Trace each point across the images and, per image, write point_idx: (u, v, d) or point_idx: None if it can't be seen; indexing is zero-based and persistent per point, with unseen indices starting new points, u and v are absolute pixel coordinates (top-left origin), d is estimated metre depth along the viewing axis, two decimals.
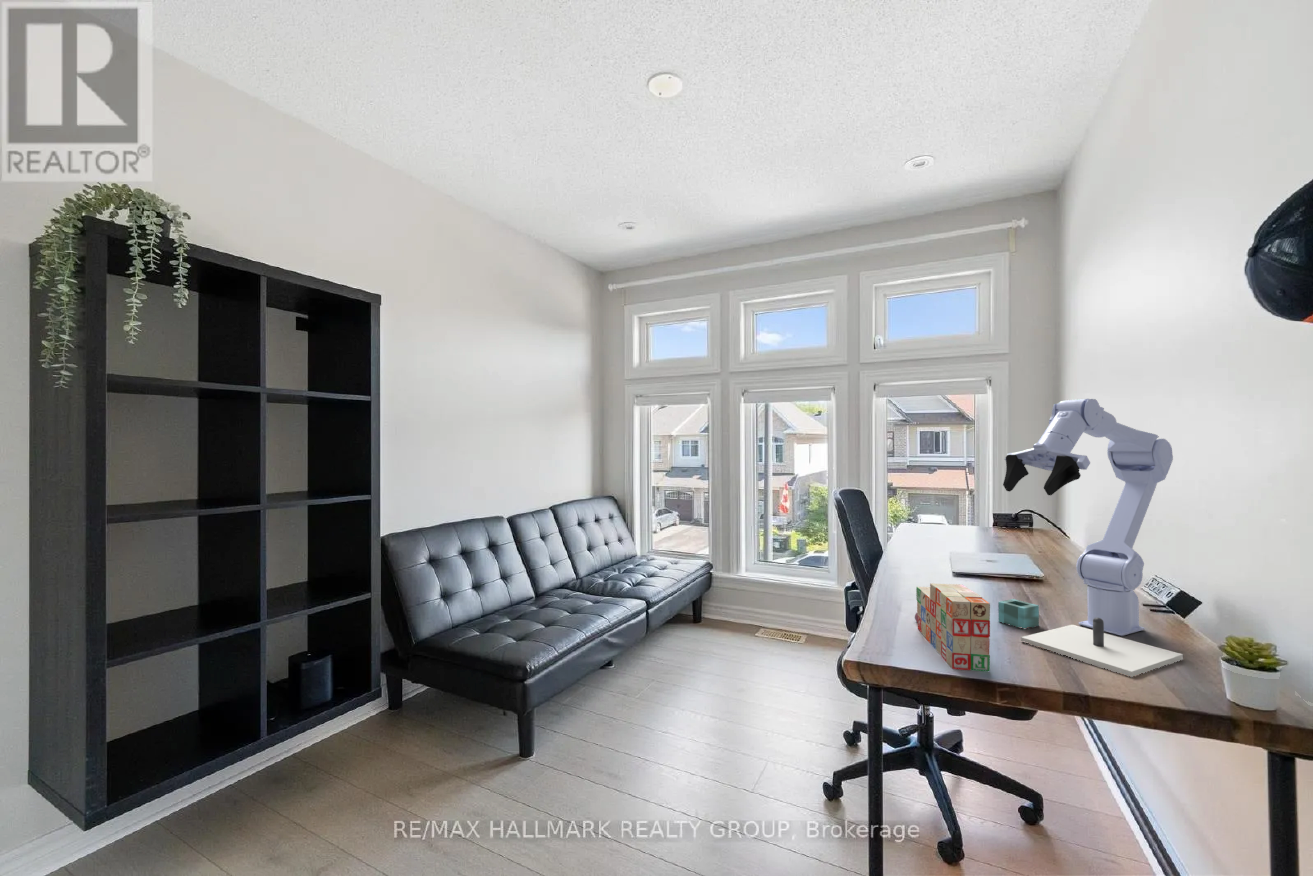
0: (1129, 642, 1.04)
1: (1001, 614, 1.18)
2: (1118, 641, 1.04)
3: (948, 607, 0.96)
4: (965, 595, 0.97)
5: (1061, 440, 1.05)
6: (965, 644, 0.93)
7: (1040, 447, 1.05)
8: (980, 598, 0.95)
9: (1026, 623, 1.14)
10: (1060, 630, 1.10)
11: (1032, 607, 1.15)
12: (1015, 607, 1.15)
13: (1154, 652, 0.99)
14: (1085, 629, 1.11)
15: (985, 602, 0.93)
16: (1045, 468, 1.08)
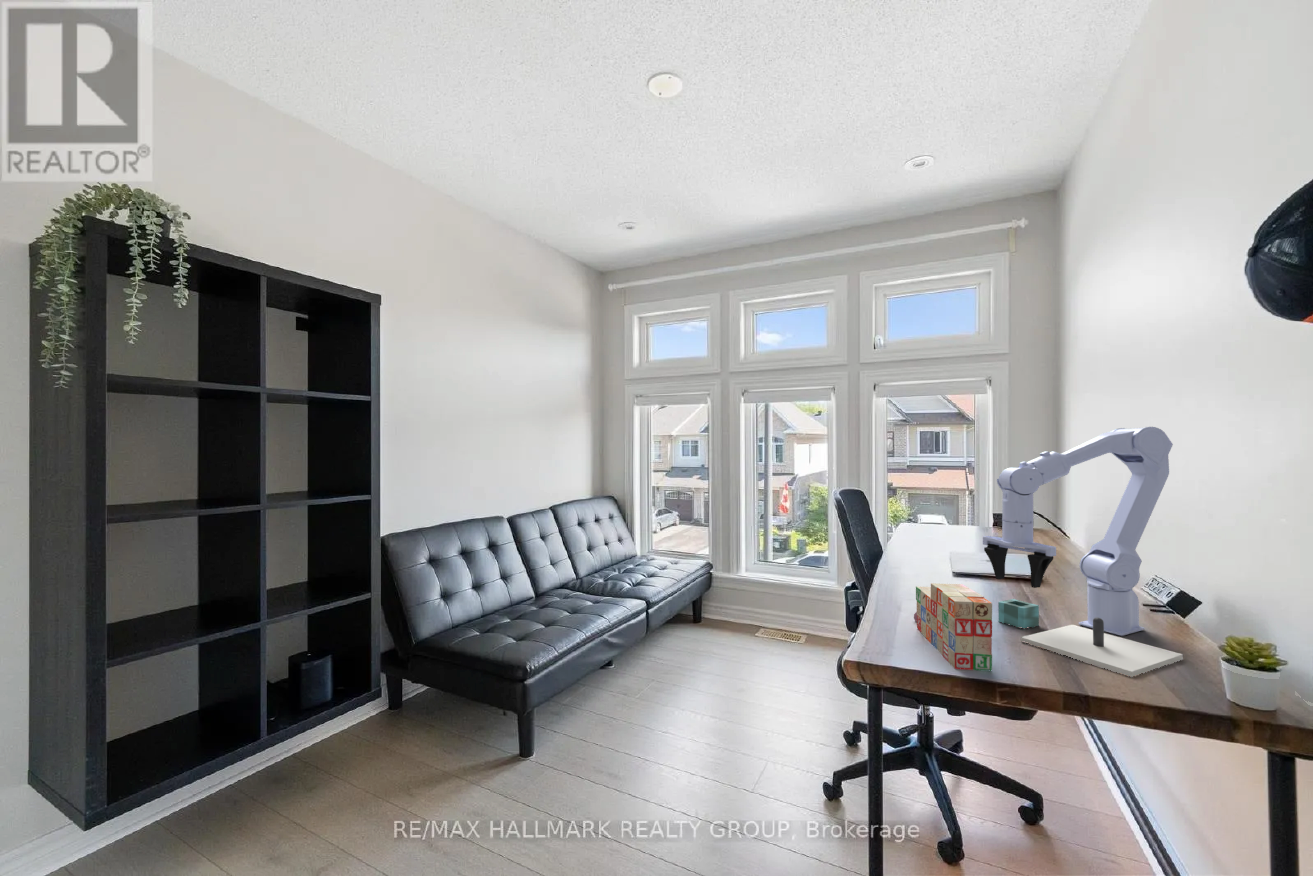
0: (1129, 642, 1.04)
1: (1001, 614, 1.18)
2: (1118, 641, 1.04)
3: (950, 607, 0.96)
4: (967, 595, 0.97)
5: (1022, 529, 1.15)
6: (968, 644, 0.93)
7: (1009, 545, 1.16)
8: (982, 598, 0.96)
9: (1026, 623, 1.14)
10: (1060, 630, 1.10)
11: (1032, 607, 1.15)
12: (1015, 607, 1.15)
13: (1154, 652, 0.99)
14: (1085, 629, 1.11)
15: (987, 602, 0.93)
16: None
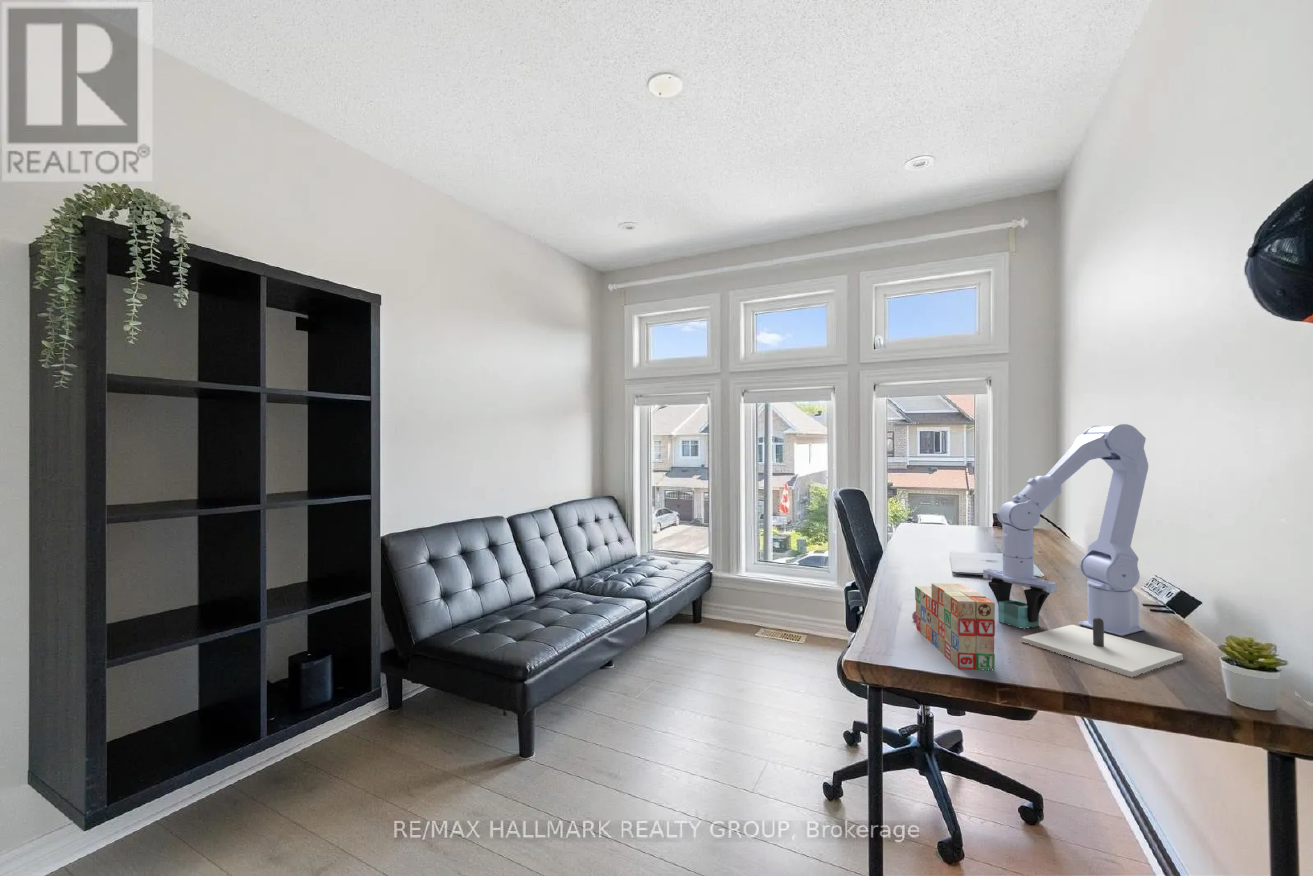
0: (1129, 642, 1.04)
1: (1001, 614, 1.18)
2: (1118, 641, 1.04)
3: (953, 607, 0.96)
4: (969, 595, 0.97)
5: (1022, 565, 1.15)
6: (971, 643, 0.93)
7: (1010, 580, 1.16)
8: (984, 597, 0.96)
9: (1026, 623, 1.14)
10: (1060, 630, 1.10)
11: None
12: (1015, 607, 1.15)
13: (1154, 652, 0.99)
14: (1085, 629, 1.11)
15: (990, 601, 0.94)
16: None
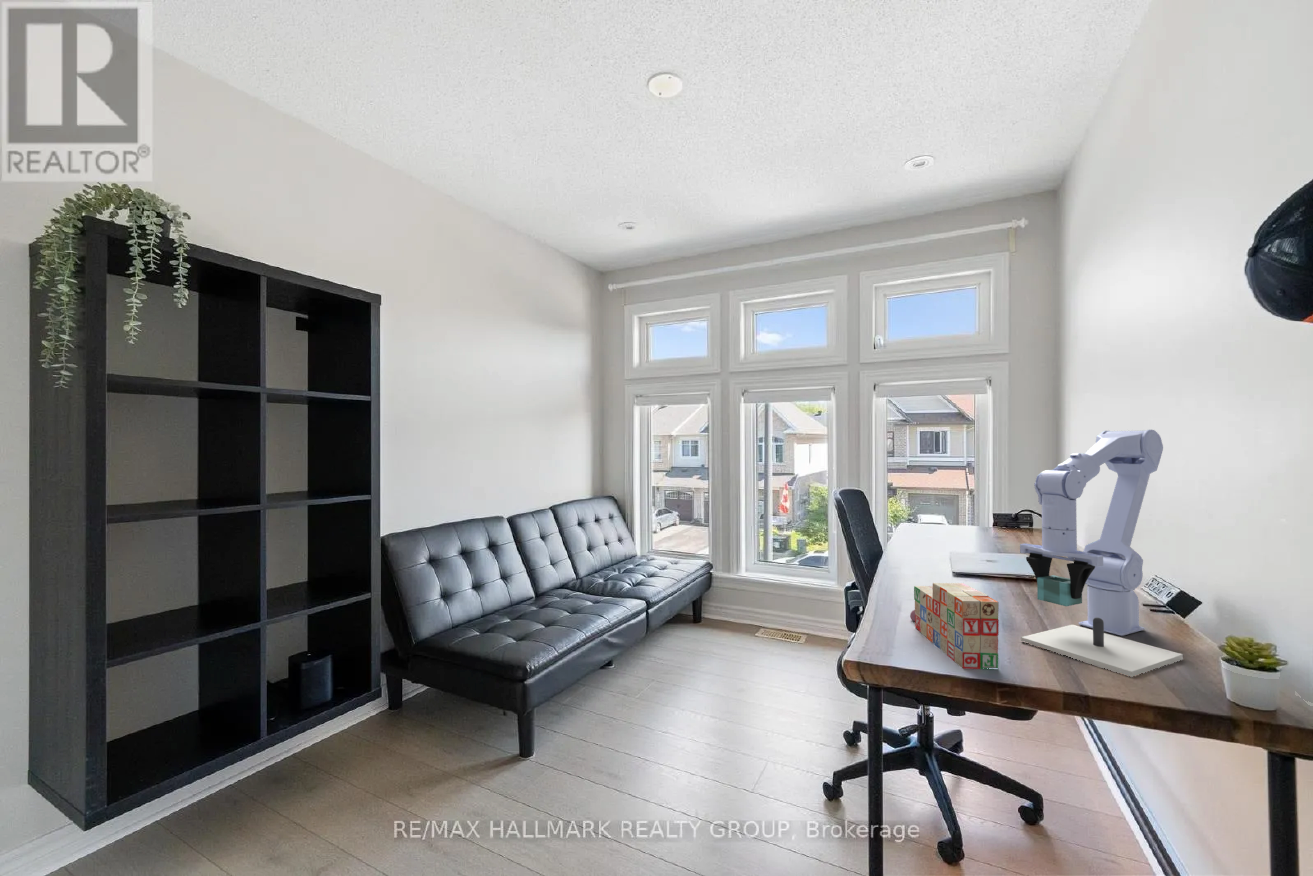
0: (1129, 642, 1.04)
1: (1040, 591, 1.10)
2: (1118, 641, 1.04)
3: (957, 607, 0.96)
4: (972, 594, 0.97)
5: (1064, 537, 1.07)
6: (975, 643, 0.94)
7: (1051, 554, 1.07)
8: (987, 597, 0.96)
9: (1068, 599, 1.06)
10: (1060, 630, 1.10)
11: None
12: (1056, 583, 1.07)
13: (1154, 652, 0.99)
14: (1085, 629, 1.11)
15: (993, 601, 0.94)
16: None
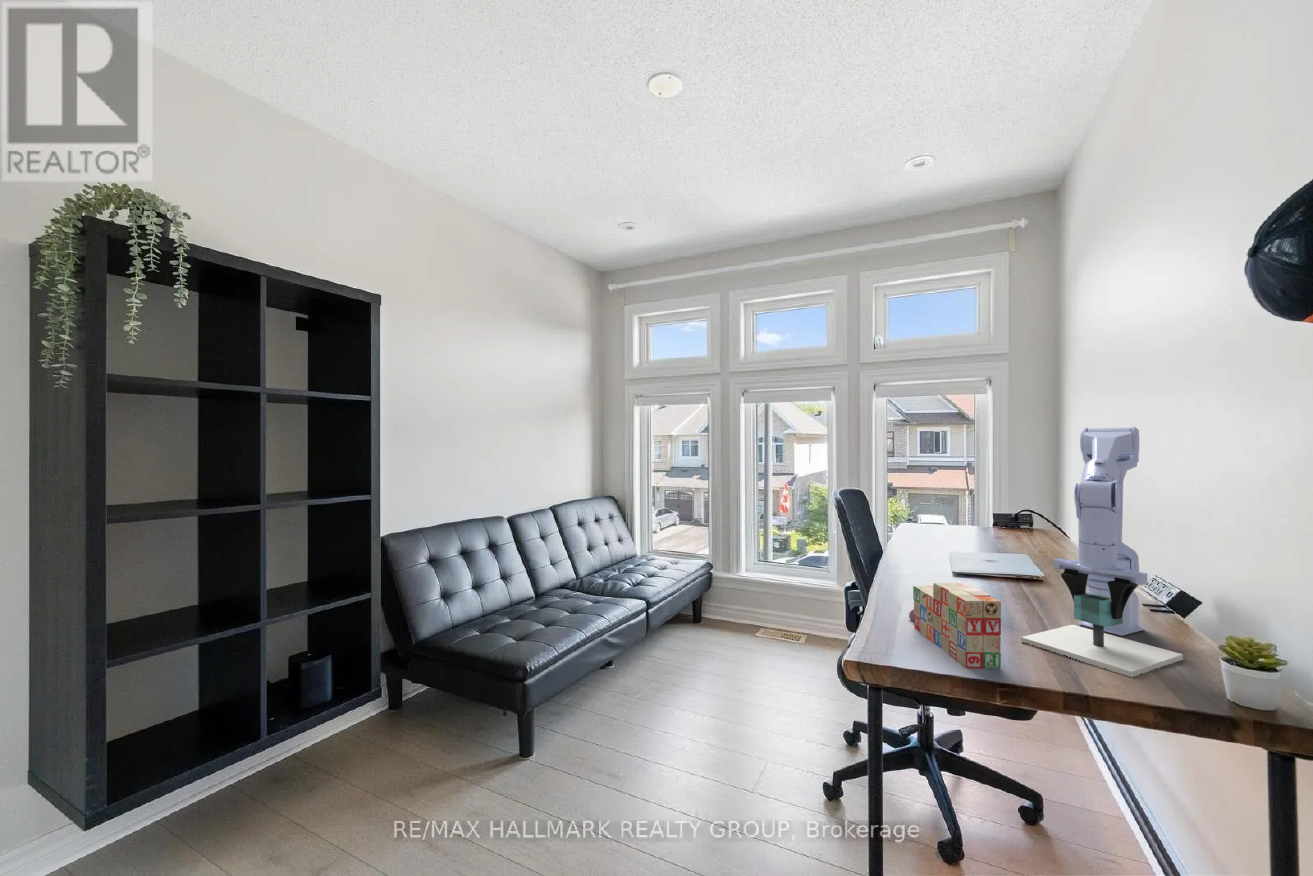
0: (1129, 642, 1.04)
1: (1077, 610, 1.03)
2: (1118, 641, 1.04)
3: (960, 606, 0.96)
4: (974, 594, 0.98)
5: (1104, 552, 1.00)
6: (978, 642, 0.94)
7: None
8: (989, 596, 0.97)
9: (1109, 620, 0.99)
10: (1060, 630, 1.10)
11: None
12: (1096, 601, 1.00)
13: (1154, 652, 0.99)
14: (1085, 629, 1.11)
15: (996, 600, 0.94)
16: None
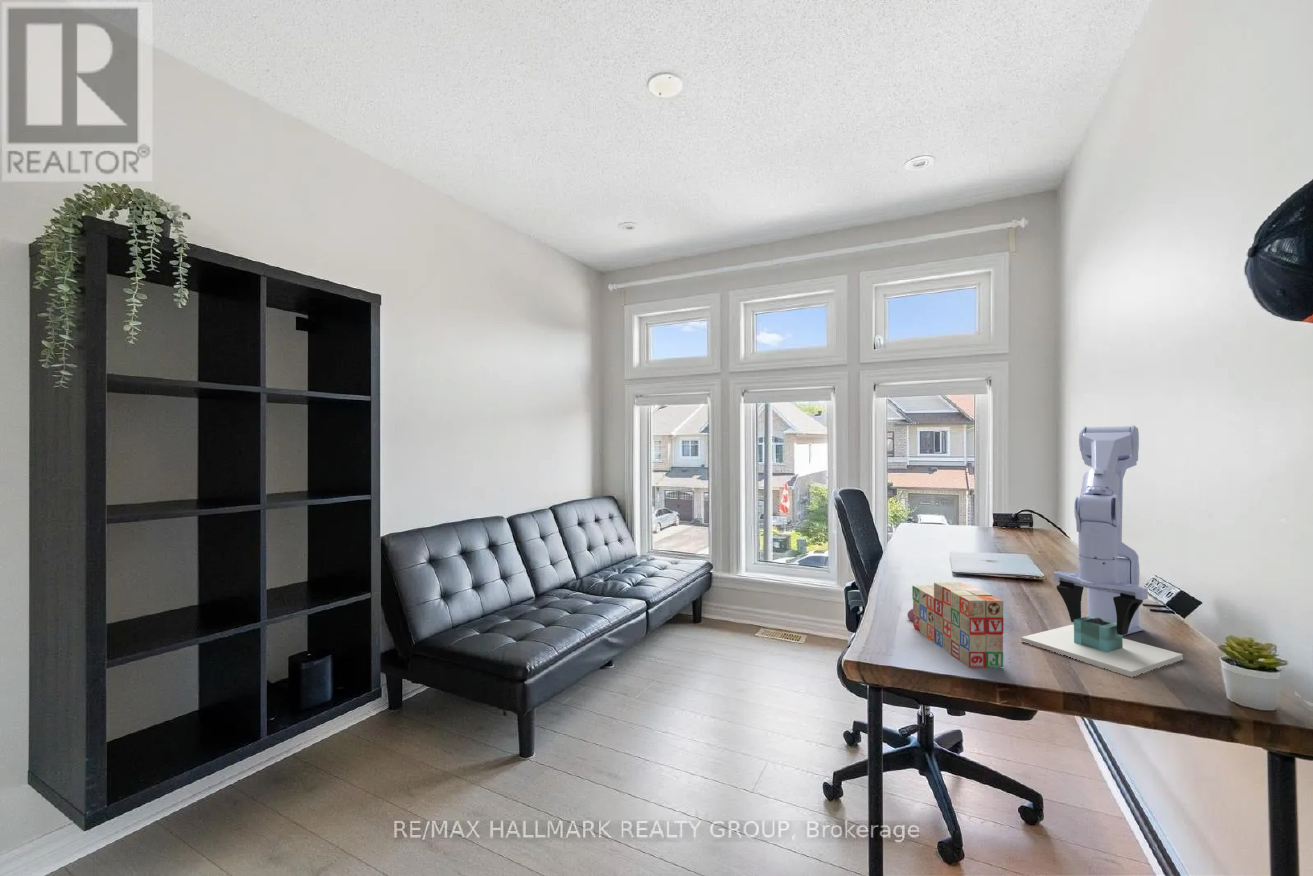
0: (1129, 642, 1.04)
1: (1077, 634, 1.03)
2: None
3: (962, 606, 0.96)
4: (976, 593, 0.98)
5: (1105, 567, 1.00)
6: (981, 642, 0.94)
7: (1090, 585, 1.00)
8: (991, 596, 0.97)
9: (1109, 645, 0.99)
10: (1060, 630, 1.10)
11: (1115, 626, 1.00)
12: (1096, 626, 1.00)
13: (1154, 652, 0.99)
14: None
15: (998, 600, 0.95)
16: None
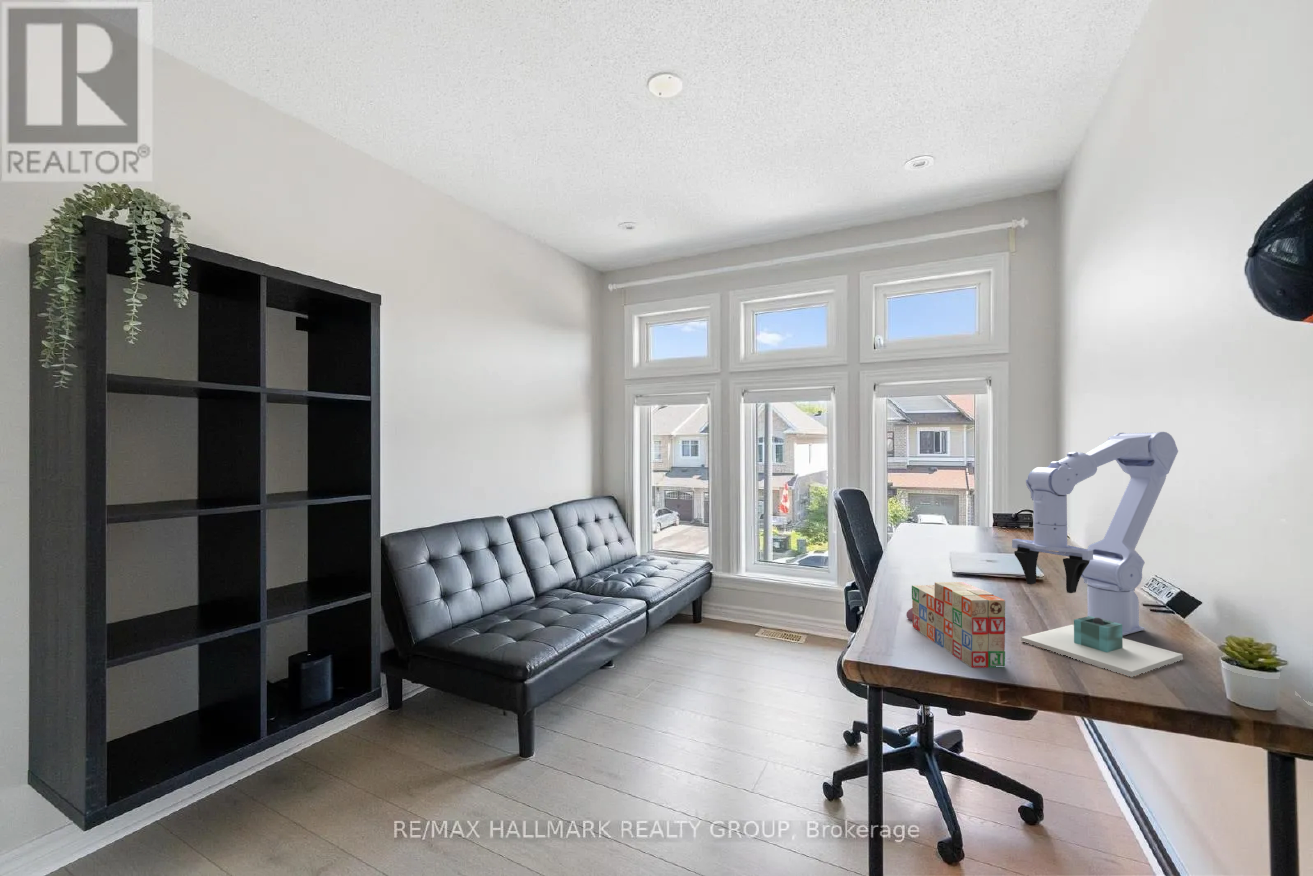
0: (1129, 642, 1.04)
1: (1077, 634, 1.03)
2: None
3: (965, 606, 0.96)
4: (977, 593, 0.98)
5: (1056, 532, 1.10)
6: (983, 642, 0.94)
7: None
8: (992, 595, 0.97)
9: (1109, 645, 0.99)
10: (1060, 630, 1.10)
11: (1115, 626, 1.00)
12: (1096, 626, 1.00)
13: (1154, 652, 0.99)
14: None
15: (1000, 599, 0.95)
16: None
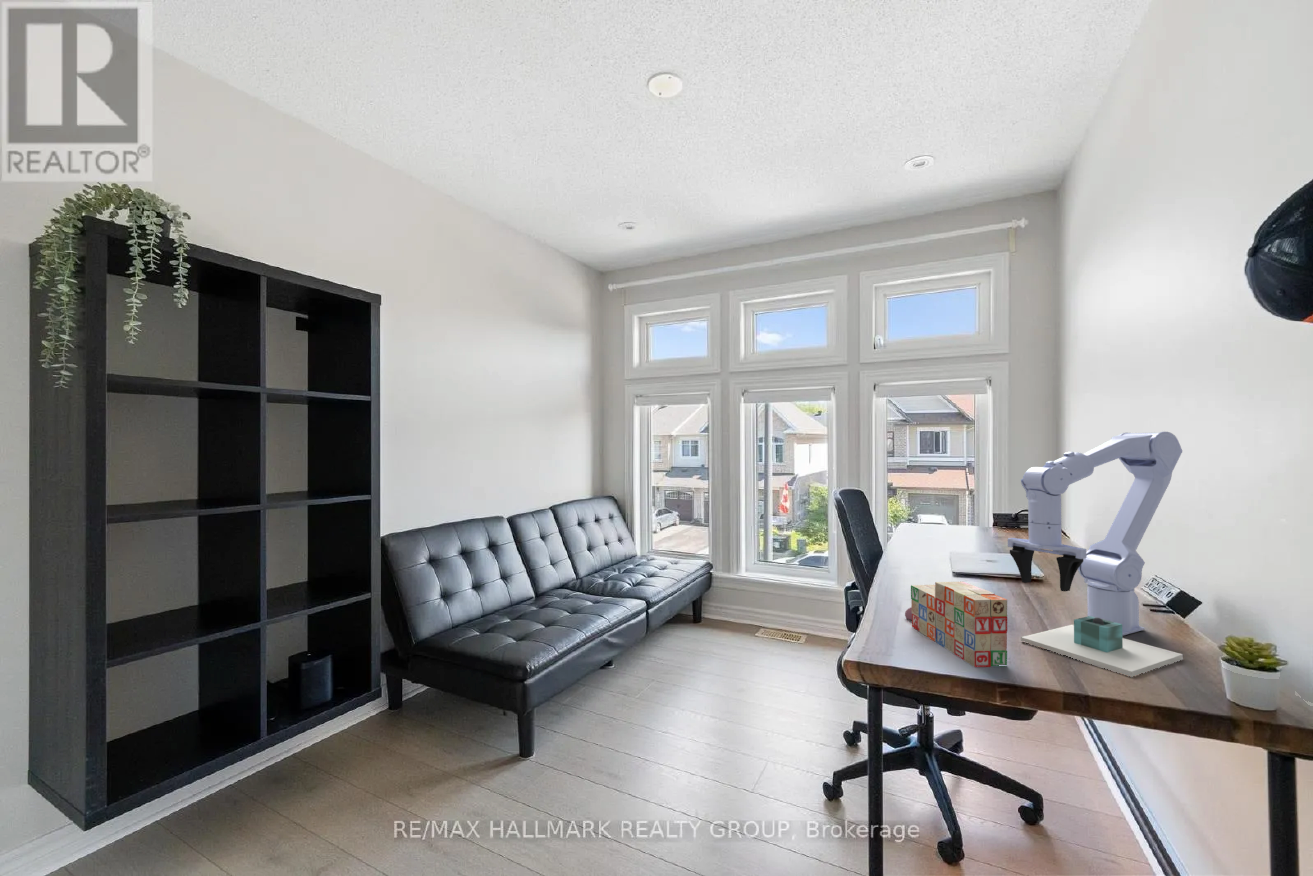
0: (1129, 642, 1.04)
1: (1077, 634, 1.03)
2: None
3: (967, 606, 0.96)
4: (979, 592, 0.98)
5: (1050, 531, 1.11)
6: (986, 641, 0.94)
7: (1037, 547, 1.12)
8: (994, 595, 0.98)
9: (1109, 645, 0.99)
10: (1060, 630, 1.10)
11: (1115, 626, 1.00)
12: (1096, 626, 1.00)
13: (1154, 652, 0.99)
14: None
15: (1002, 599, 0.95)
16: None
